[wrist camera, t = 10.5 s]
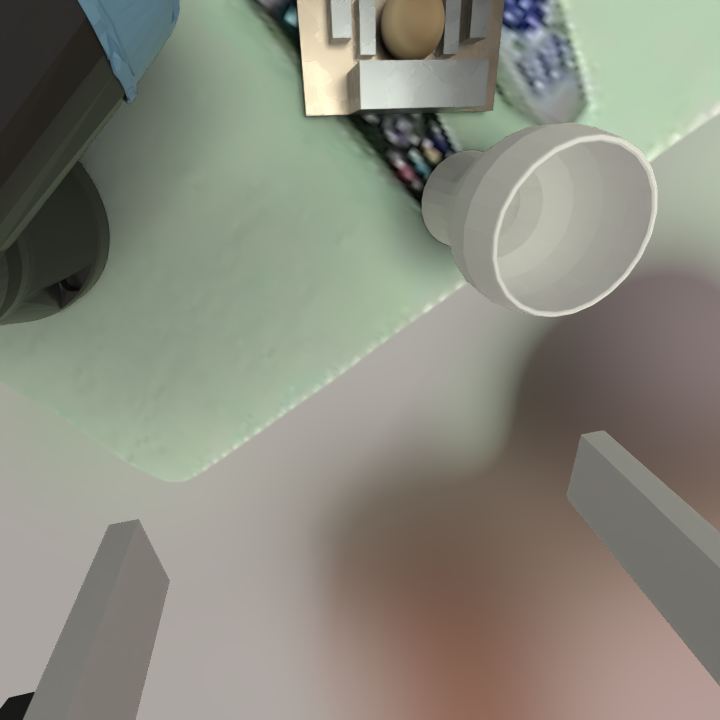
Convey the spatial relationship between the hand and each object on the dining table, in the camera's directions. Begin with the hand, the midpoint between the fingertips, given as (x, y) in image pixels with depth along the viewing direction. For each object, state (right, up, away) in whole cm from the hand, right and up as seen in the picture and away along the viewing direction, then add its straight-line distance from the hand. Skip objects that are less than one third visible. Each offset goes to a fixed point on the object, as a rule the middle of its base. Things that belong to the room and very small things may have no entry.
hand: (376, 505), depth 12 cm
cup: (+8, +18, +23) cm, 30 cm away
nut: (+2, +27, +15) cm, 31 cm away
